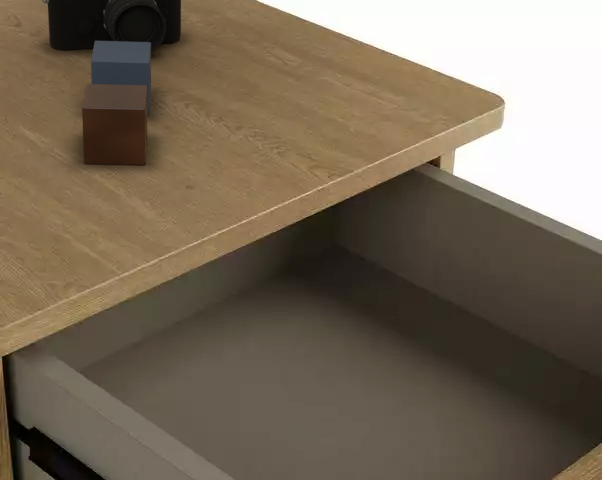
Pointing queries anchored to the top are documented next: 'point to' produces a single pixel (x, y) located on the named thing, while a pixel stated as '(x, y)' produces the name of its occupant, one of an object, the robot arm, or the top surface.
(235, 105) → the top surface
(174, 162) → the top surface
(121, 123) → the walnut block
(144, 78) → the slate block
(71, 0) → the camera
